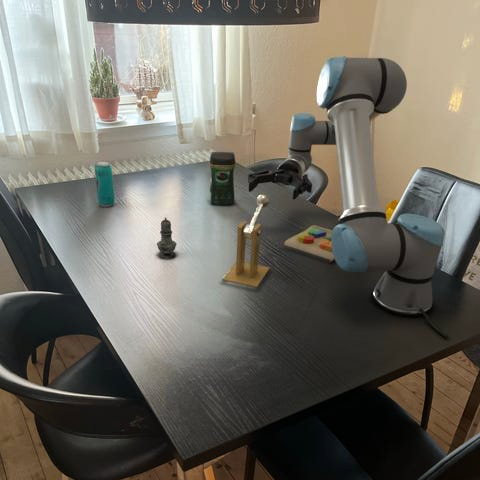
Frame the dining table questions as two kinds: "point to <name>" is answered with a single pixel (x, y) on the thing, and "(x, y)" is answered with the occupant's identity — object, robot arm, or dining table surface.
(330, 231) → the puzzle board
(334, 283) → the dining table surface
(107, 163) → the beverage can
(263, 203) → the tap lever
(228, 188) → the coffee jar
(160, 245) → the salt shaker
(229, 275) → the wooden lever stand
